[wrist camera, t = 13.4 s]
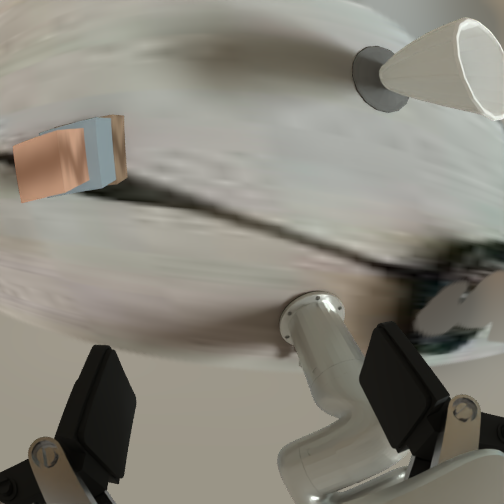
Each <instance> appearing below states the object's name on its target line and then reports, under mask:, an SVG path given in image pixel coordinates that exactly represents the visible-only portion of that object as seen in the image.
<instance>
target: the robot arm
mask: <svg viewBox="0 0 504 504" xmlns="http://www.w3.org/2000/svg"><path fill="white" fill-rule="evenodd" d="M344 317H345V309H344V306H343V304H342V303H341V301H340V300H339V299H338V298H337V297H336V296H335V295H333V294H331V293H328V292H322V291H319V292H311V293H307V294H305V295H302V296H300V297H298V298H297V299H295V300H294V301H293V302H291V303H290V304H289V305H288V306H287V307H286V309H285V310H284V311H283V313H282V315H281V317H280V322H279V329H280V332H281V335H282V337H283V339H284V340H285V341H286V342H288V343H289V344H291V345H293V346H295V349H296V352H297V354H298V357H299V366H300V367H302V368H303V371H304V374H305V377H306V379H307V382H308V385H309V388H310V391H311V394H312V397H313V399H314V401H315V403H316V405H317V406H318V407H319V408H320V409H321V410H323V411H324V412H326V413H327V414H329V415H331V416H334V417H337V418H339V420H337V421H335V422H334V423H332V424H330V425H329V426H326V427H324V428H322V429H320V430H318V431H316V432H313V433H311V434H309V435H306V436H304V437H302V438H300V439H297V440H295V441H293V442H291V443H289V444H287V445H286V446H284V447H283V448H282V449H281V450H280V452H279V454H278V459H277V464H278V469H279V472H280V476H281V478H282V480H283V482H284V484H285V486H286V488H287V490H288V492H289V494H290V495H291V497H292V499H293V500H294V502H295V504H504V417H499V416H495V415H491V414H487V413H483V412H481V409H480V406H479V404H478V402H477V401H476V400H475V399H474V398H472V397H471V396H468V395H463V394H461V395H457V396H455V397H453V398H452V399H451V398H450V397H449V396H450V395H449V393H448V392H447V390H446V389H445V387H444V386H443V385H442V383H441V382H440V380H439V379H438V378H437V376H436V375H435V374H434V372H433V371H432V370H431V368H430V367H429V366H428V364H427V363H426V362H425V360H424V359H423V358H422V356H421V355H420V354H419V352H418V351H417V350H416V349H415V347H414V346H413V345H412V344H411V342H410V341H409V340H408V338H407V337H406V336H405V335H404V333H403V332H402V331H401V330H400V328H399V327H398V326H397V325H396V323H394V322H393V321H390V322H385V323H380V324H378V325H377V327H376V328H375V329H374V330H373V333H372V336H371V340H370V343H369V347H368V350H367V353H366V357H364V355H363V353H362V352H361V350H360V348H359V347H358V345H357V343H356V342H355V340H354V338H353V337H352V335H351V333H350V332H349V330H348V328H347V327H346V325H345V324H344V322H343V321H344ZM135 408H136V397H135V394H134V392H133V390H132V388H131V386H130V384H129V381H128V379H127V377H126V375H125V373H124V370H123V368H122V366H121V363H120V361H119V358H118V356H117V354H116V351H115V350H112V349H111V347H110V346H108V345H94V346H93V347H92V349H91V351H90V353H89V355H88V358H87V360H86V362H85V365H84V367H83V369H82V371H81V374H80V376H79V378H78V380H77V381H76V382H75V384H74V387H73V389H72V392H71V394H70V397H69V399H68V402H67V404H66V407H65V409H64V412H63V415H62V418H61V420H60V423H59V426H58V429H57V432H56V435H55V438H54V439H53V438H51V437H40V438H38V439H36V440H35V441H34V442H33V443H32V444H31V445H30V448H29V450H28V458H29V459H27V460H25V461H23V462H21V463H19V464H17V465H15V466H13V467H11V468H9V469H6V470H4V471H2V472H0V504H116V503H115V501H114V500H113V498H112V497H111V495H110V494H109V492H108V491H107V486H108V482H111V483H115V484H119V479H120V478H123V476H124V472H125V465H126V458H127V452H128V446H129V439H130V434H131V429H132V423H133V418H134V413H135ZM409 451H411V453H412V456H411V459H410V462H409V465H408V466H404V467H400V468H396V469H394V470H391V471H389V472H387V473H385V474H383V475H380V476H379V477H376V478H374V479H372V480H370V481H368V482H365V483H363V484H361V485H359V486H356V487H354V488H352V489H349V490H347V491H344V492H338V490H341V489H343V488H346V487H348V486H351V485H353V484H355V483H359V482H361V481H363V480H365V479H367V478H370V477H372V476H374V475H376V474H378V473H380V472H382V471H384V470H386V469H388V468H389V467H391V466H393V465H394V464H396V463H397V462H398V461H400V460H401V459H402V458H403V457H404V456H405V455H406V454H407V453H408V452H409Z"/></svg>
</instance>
